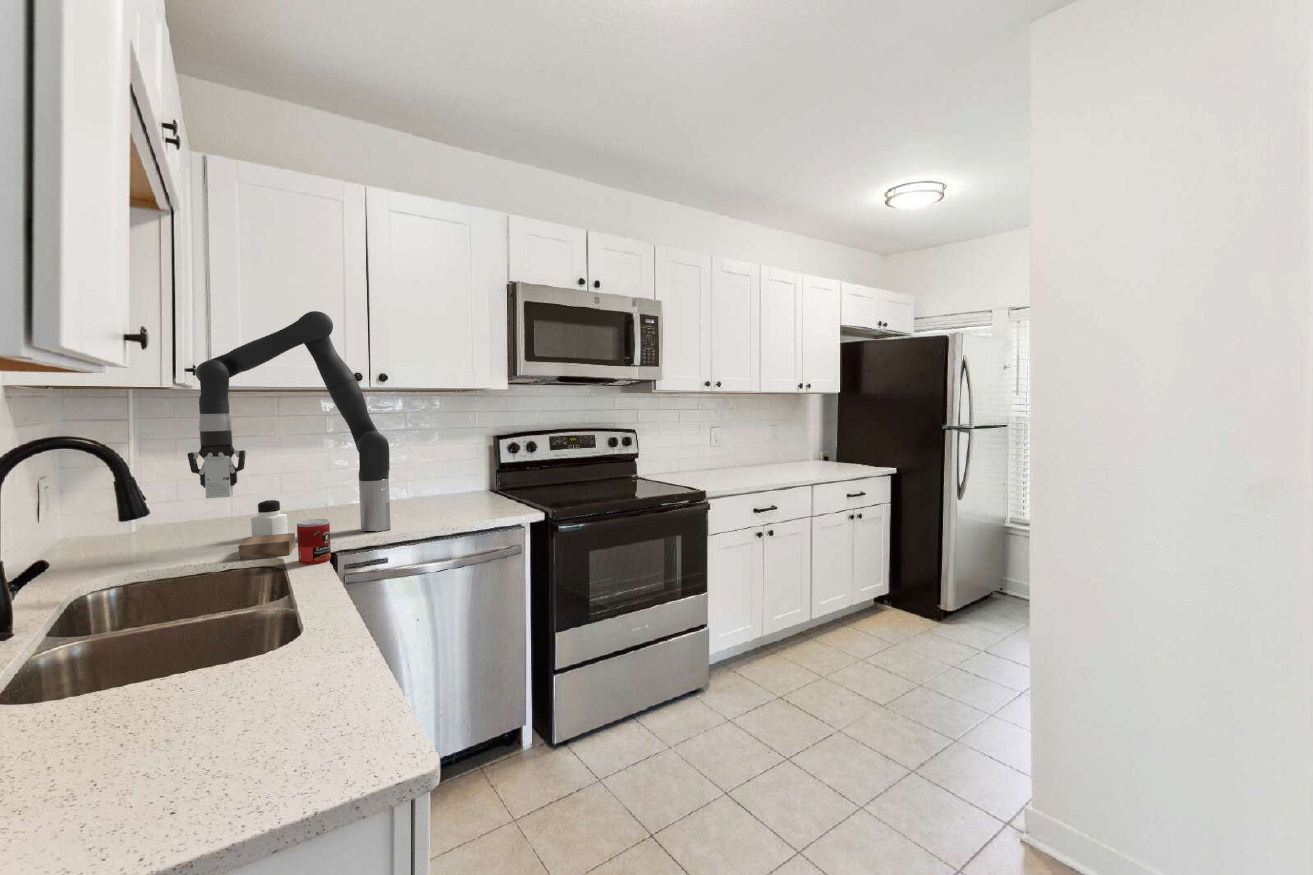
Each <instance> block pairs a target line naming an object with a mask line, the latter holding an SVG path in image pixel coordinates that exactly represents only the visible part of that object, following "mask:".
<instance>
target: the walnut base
mask: <svg viewBox="0 0 1313 875" xmlns="http://www.w3.org/2000/svg"><path fill="white" fill-rule="evenodd" d="M295 547H296V534H295V532H290V533H289V532H288V534H276V535H264V536H252V535H251V536H247V537H245V539H243V541H241V543H240V544H239V545H238V559H239V561H242V560H251V559H252V560H253V559H261V558H263V559H264V558H272V557H271V556H274V557H283V556H290V555H291V553H292V552H293V551H294V548H295Z"/></svg>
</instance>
